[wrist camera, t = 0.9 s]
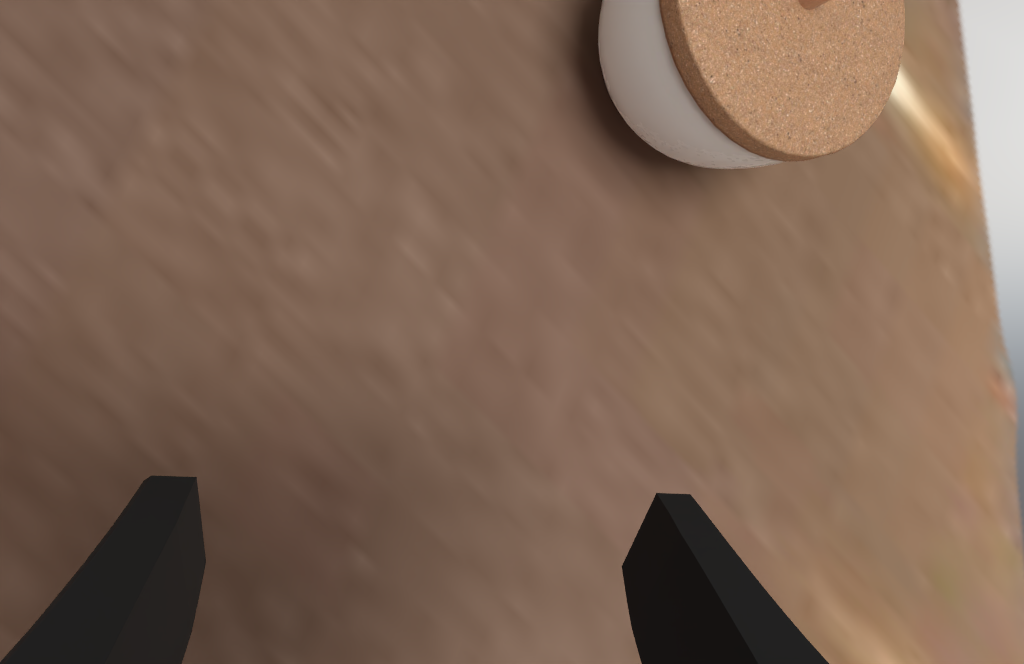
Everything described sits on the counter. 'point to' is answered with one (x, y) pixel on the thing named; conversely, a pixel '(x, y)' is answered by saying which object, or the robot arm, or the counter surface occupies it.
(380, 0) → the counter surface
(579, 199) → the counter surface
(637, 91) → the lidded jar
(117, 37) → the counter surface
